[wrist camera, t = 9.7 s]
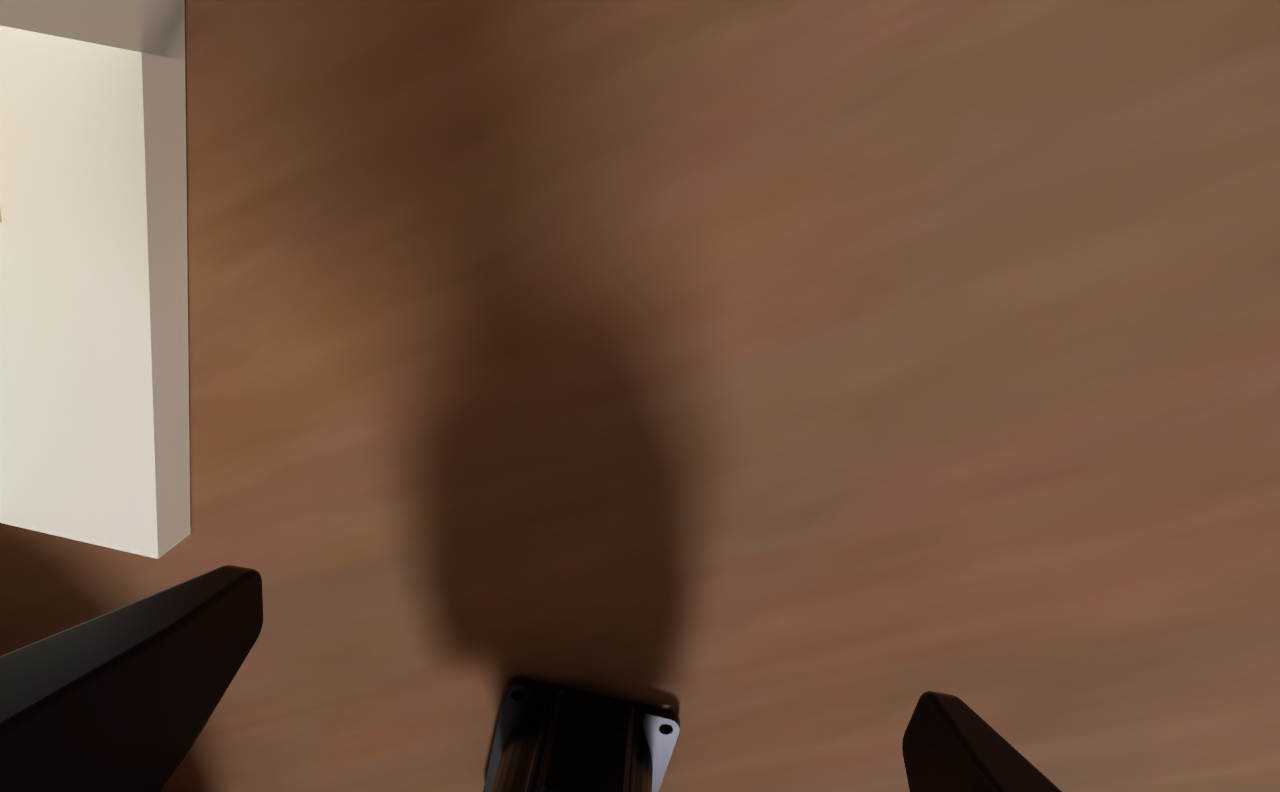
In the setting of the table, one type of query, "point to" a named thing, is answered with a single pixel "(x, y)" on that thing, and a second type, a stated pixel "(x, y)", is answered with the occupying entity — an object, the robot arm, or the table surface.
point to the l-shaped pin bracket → (94, 272)
